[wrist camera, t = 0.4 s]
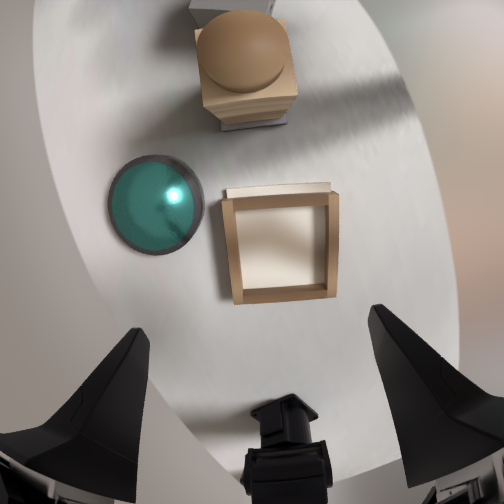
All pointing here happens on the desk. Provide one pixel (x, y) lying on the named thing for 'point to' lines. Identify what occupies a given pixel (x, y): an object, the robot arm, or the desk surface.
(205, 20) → the dice cube
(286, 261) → the frame
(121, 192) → the pad
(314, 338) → the desk surface
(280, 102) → the stamp
